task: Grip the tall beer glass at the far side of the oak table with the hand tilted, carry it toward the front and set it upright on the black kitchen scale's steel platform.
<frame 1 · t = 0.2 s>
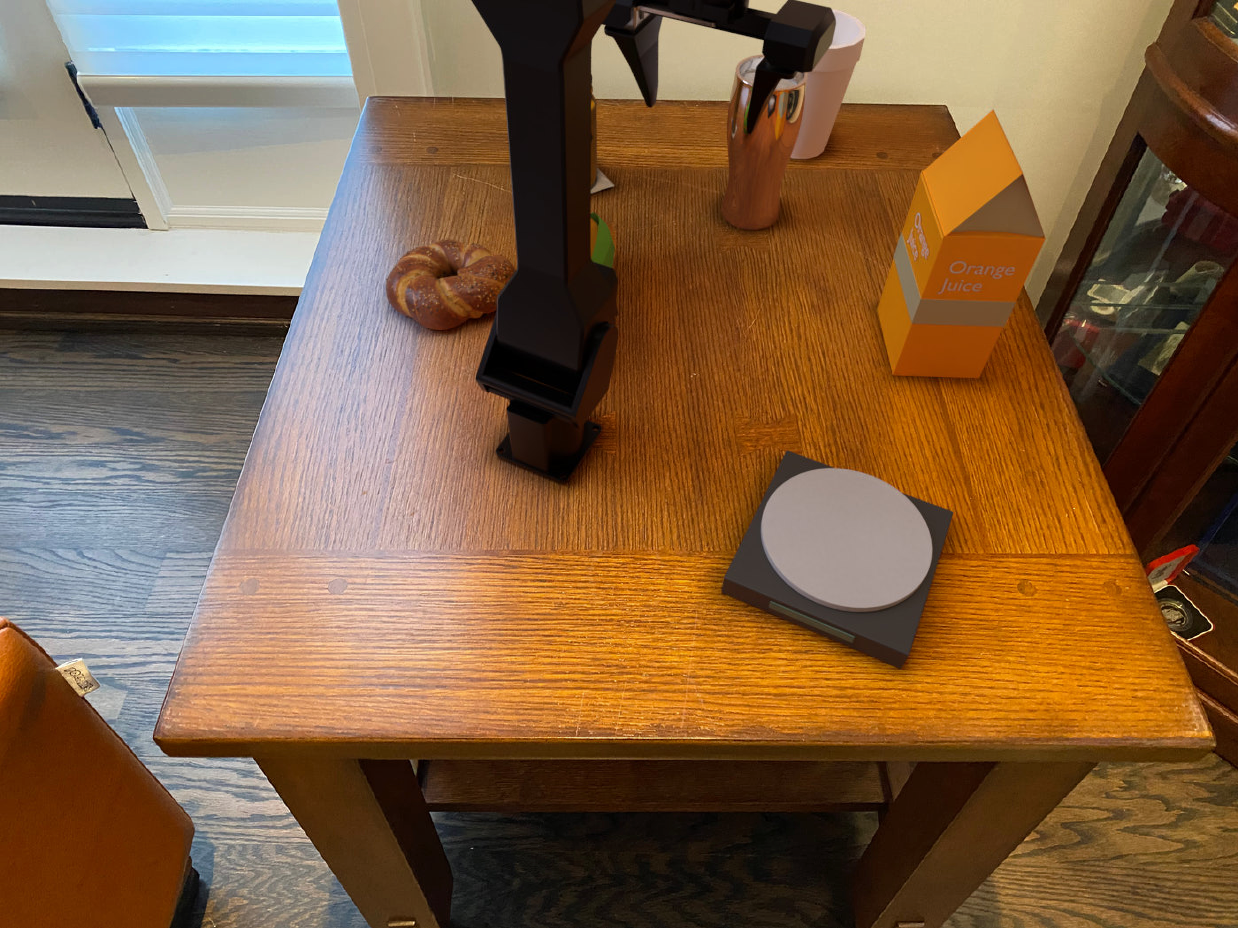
hand: (700, 118, 74), 14 cm above the table, tool pointing down, fingers open, 9 cm apart
pretzel: (454, 295, 81), on the table
orange juice: (925, 344, 78), on the table
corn: (567, 319, 80), on the table
foam cup: (796, 145, 99), on the table
scale: (836, 558, 63), on the table
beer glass: (749, 214, 90), on the table
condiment: (566, 178, 94), on the table
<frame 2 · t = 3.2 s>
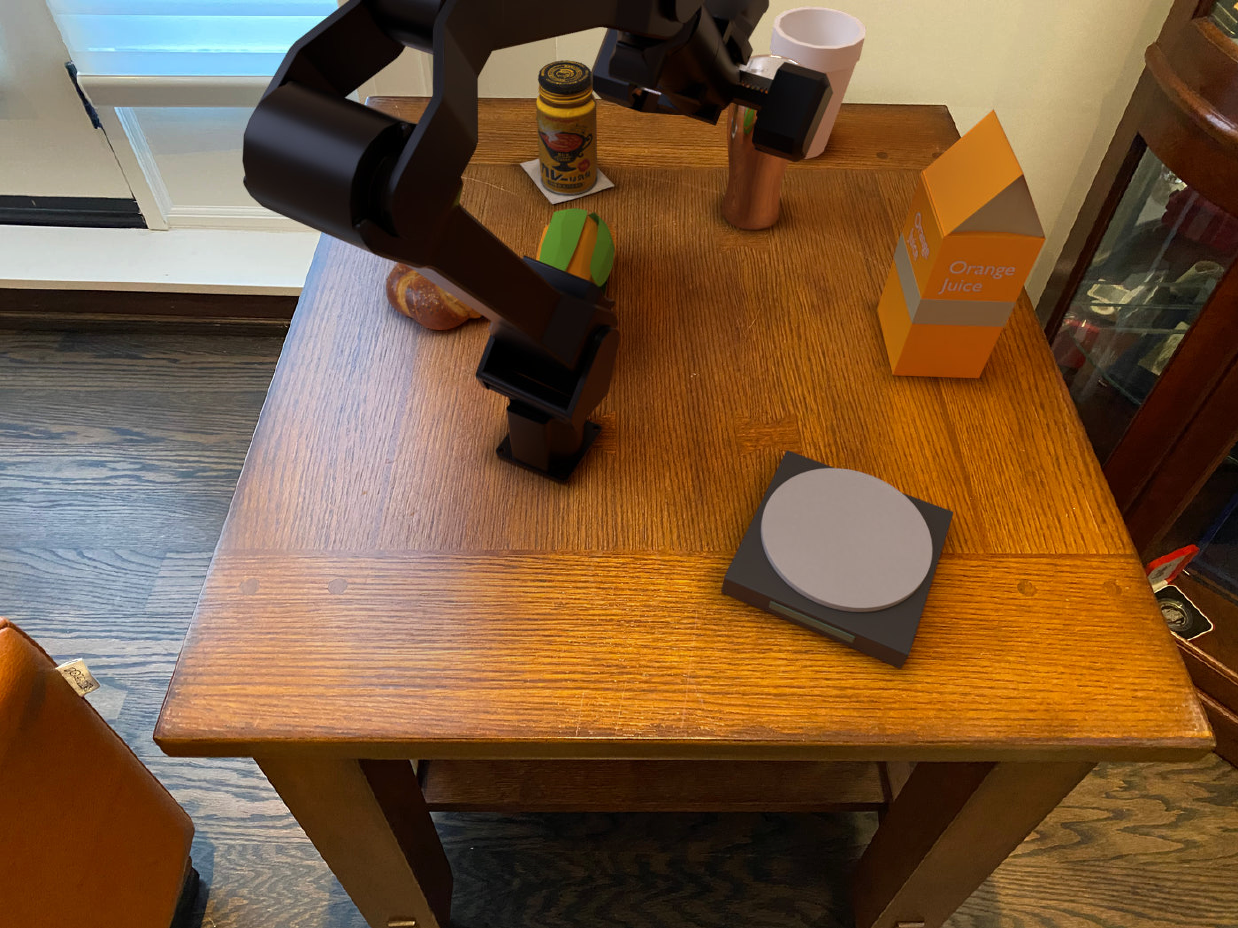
hand: (731, 124, 76), 13 cm above the table, tool tilted 45°, fingers open, 9 cm apart
nothing on the table moved.
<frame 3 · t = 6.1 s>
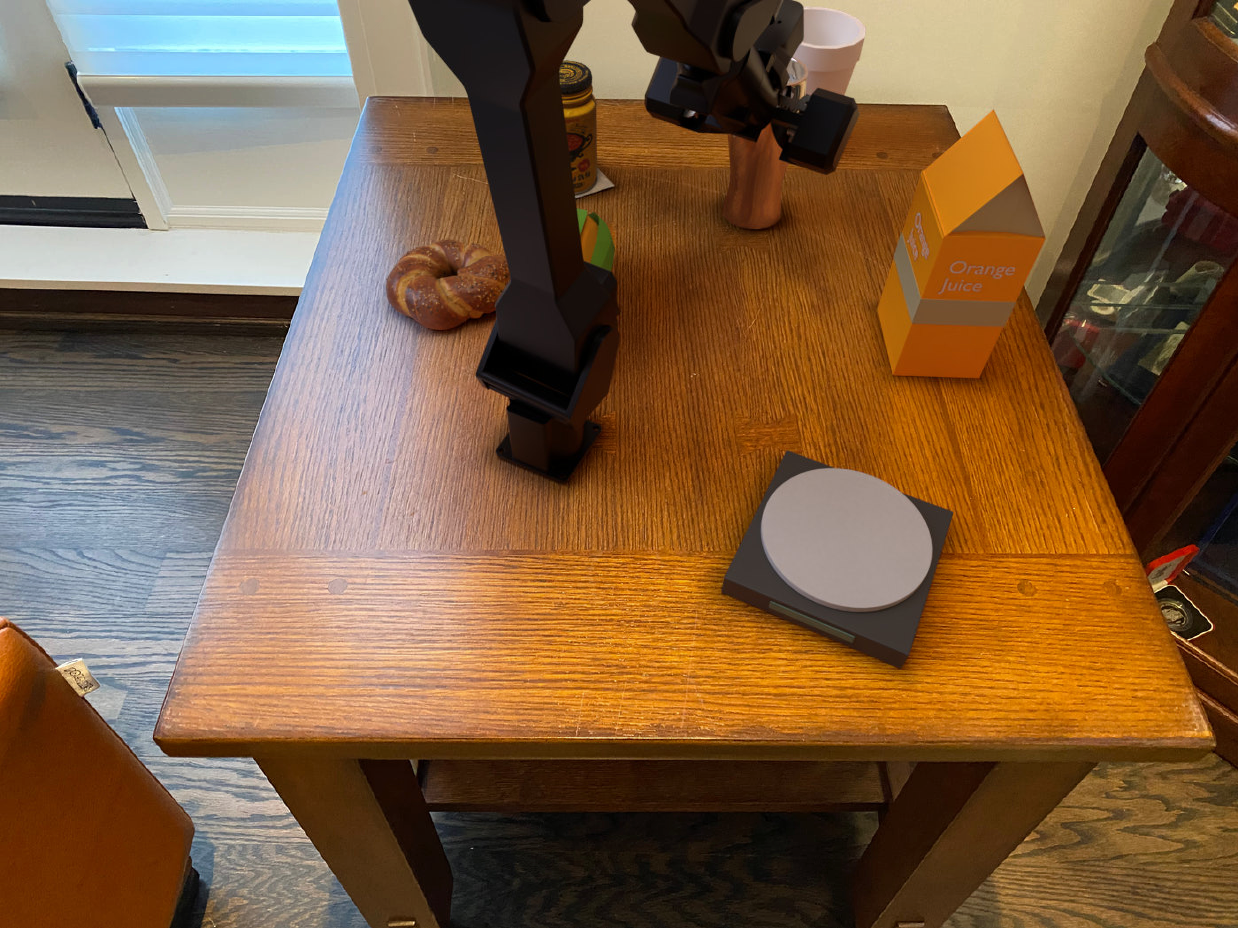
hand: (766, 139, 85), 8 cm above the table, tool tilted 45°, fingers closed on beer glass, 7 cm apart
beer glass: (751, 214, 90), on the table, touching gripper
everything else where it was.
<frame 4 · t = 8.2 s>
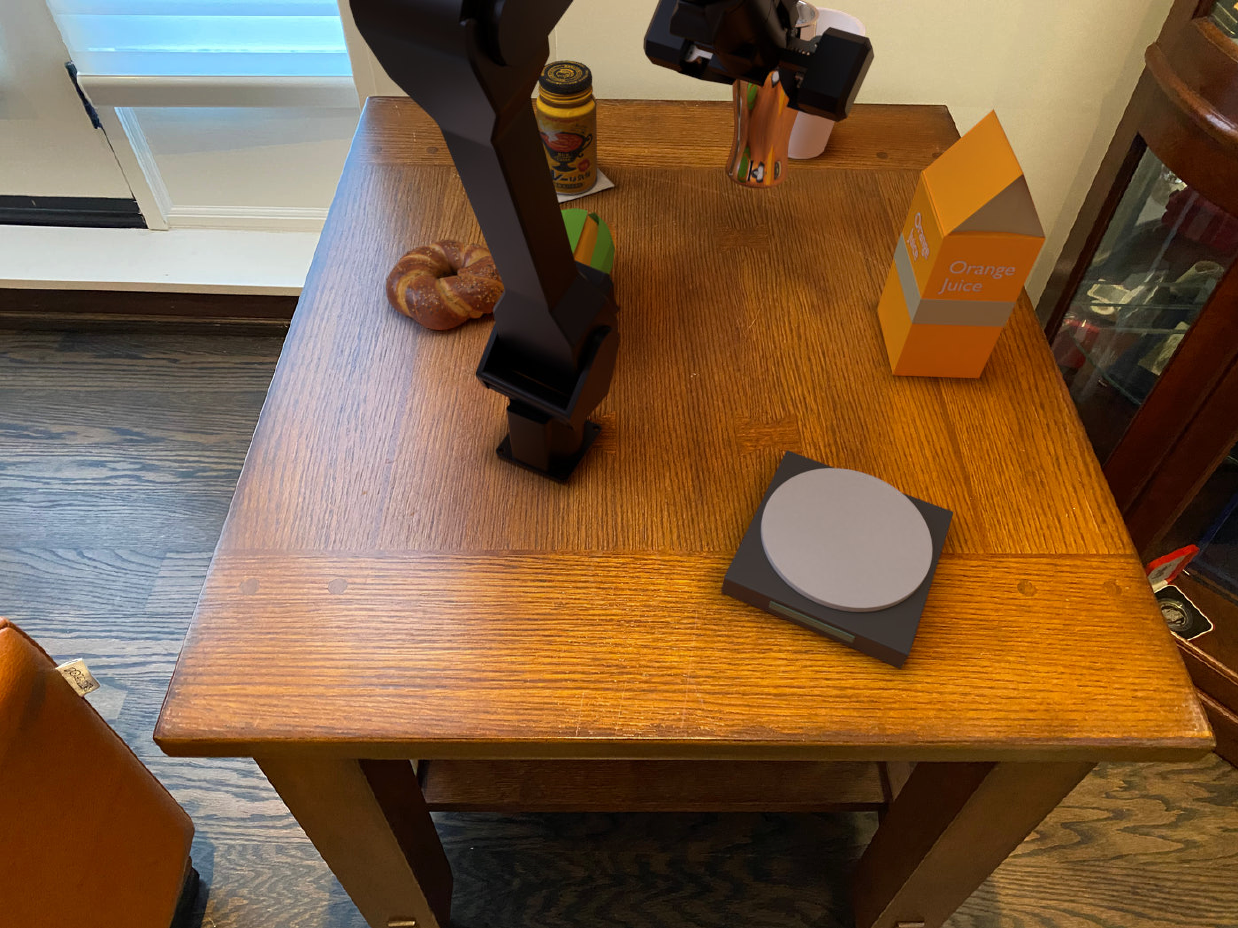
hand: (773, 91, 80), 13 cm above the table, tool tilted 45°, fingers closed on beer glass, 7 cm apart
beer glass: (756, 174, 85), point 6 cm above the table, touching gripper
everything else where it was.
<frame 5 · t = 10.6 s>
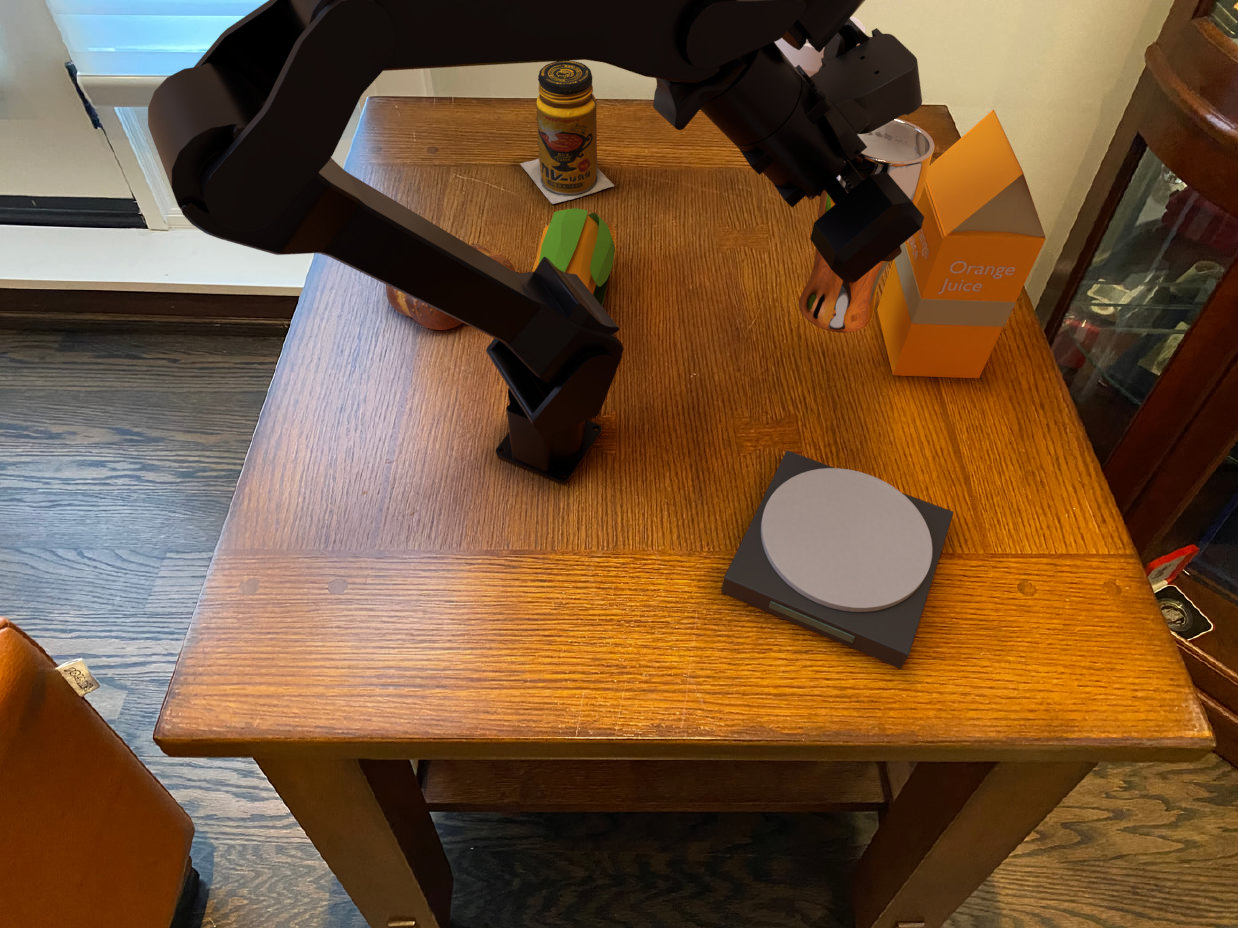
hand: (873, 228, 66), 14 cm above the table, tool tilted 45°, fingers closed on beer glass, 7 cm apart
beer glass: (834, 311, 72), point 6 cm above the table, touching gripper
everything else where it was.
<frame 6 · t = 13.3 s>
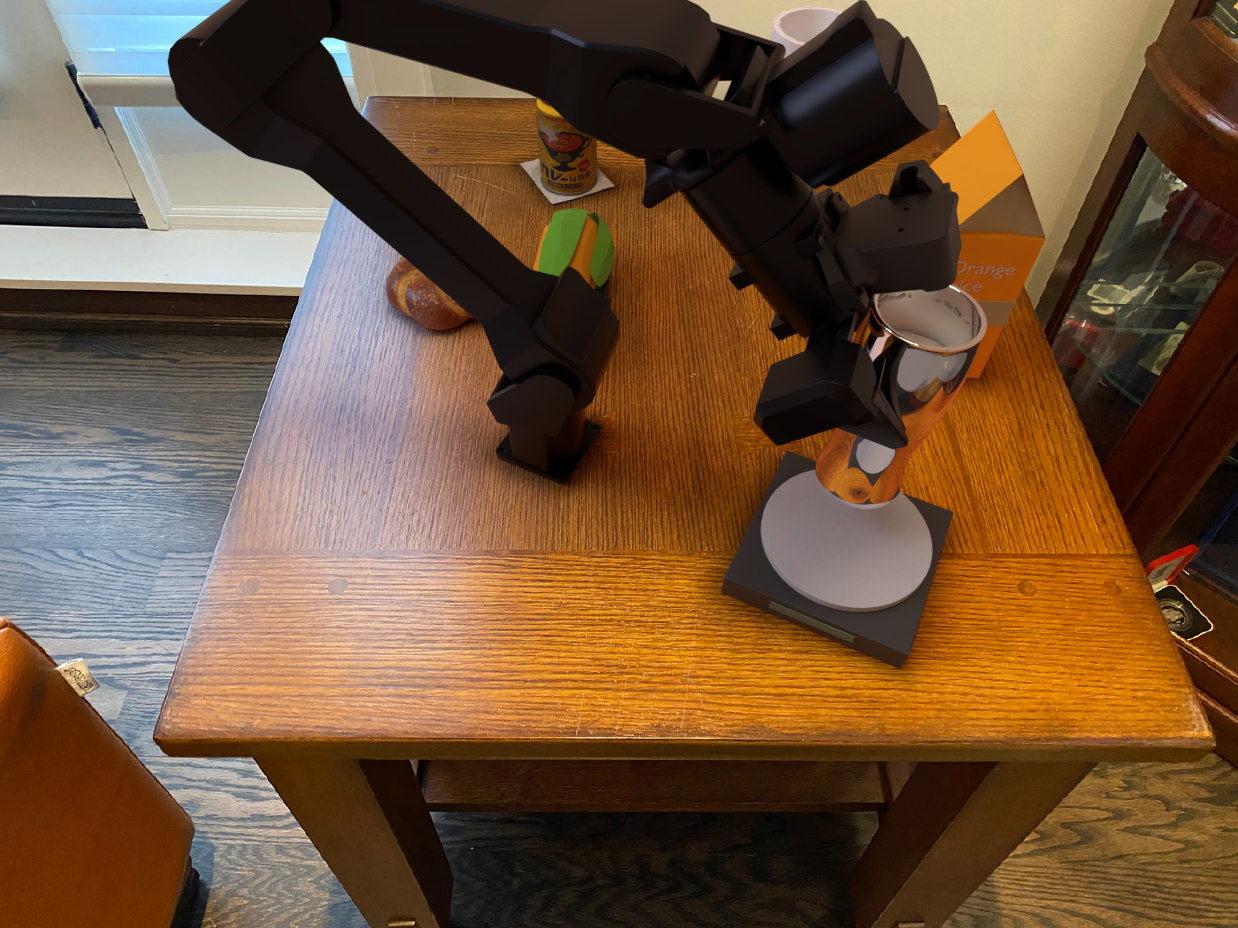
hand: (909, 406, 55), 13 cm above the table, tool tilted 45°, fingers closed on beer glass, 7 cm apart
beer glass: (856, 477, 61), point 6 cm above the table, touching gripper
everything else where it was.
when the fingers open (10 cm above the table, at t = 15.5 s): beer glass stays where it is, resting on scale.
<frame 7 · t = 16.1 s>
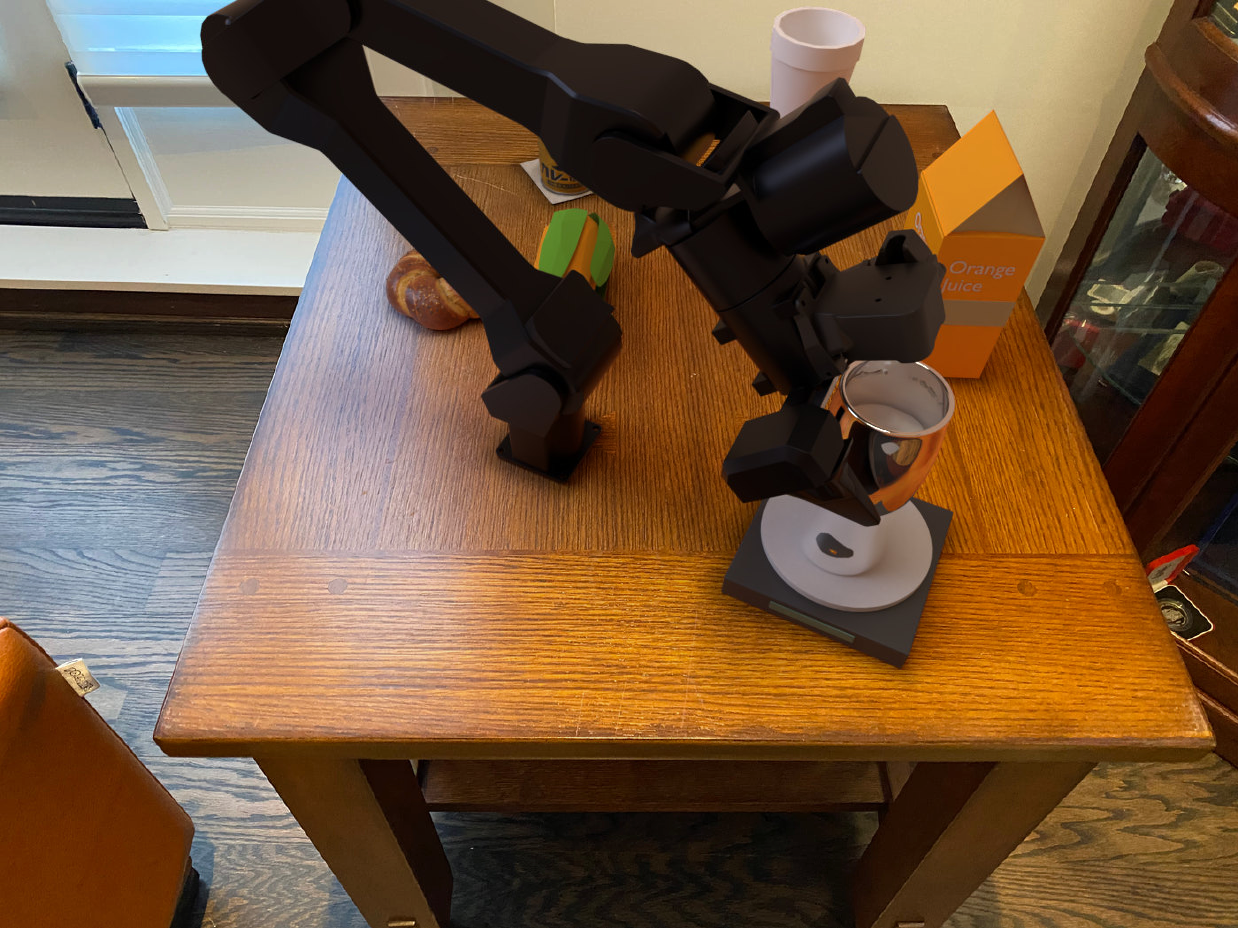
hand: (894, 470, 54), 11 cm above the table, tool tilted 45°, fingers open, 9 cm apart
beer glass: (839, 541, 61), point 2 cm above the table, touching scale
everything else where it was.
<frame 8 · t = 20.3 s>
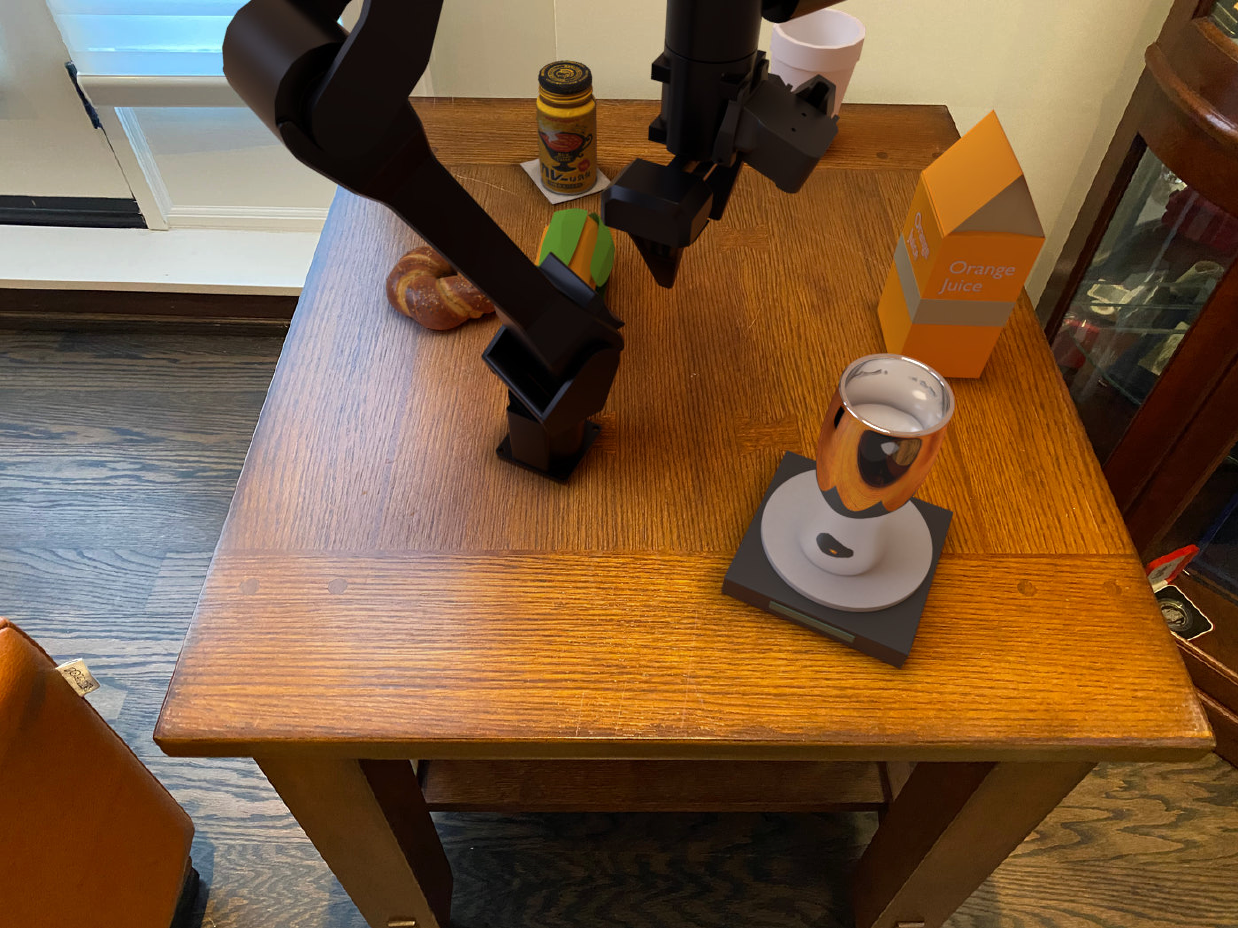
hand: (690, 251, 65), 13 cm above the table, tool pointing down, fingers open, 9 cm apart
nothing on the table moved.
at the end: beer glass inside the target area on the scale (0.5 cm from its centre), point 2.4 cm above the scale's base; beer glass tilted 0° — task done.
